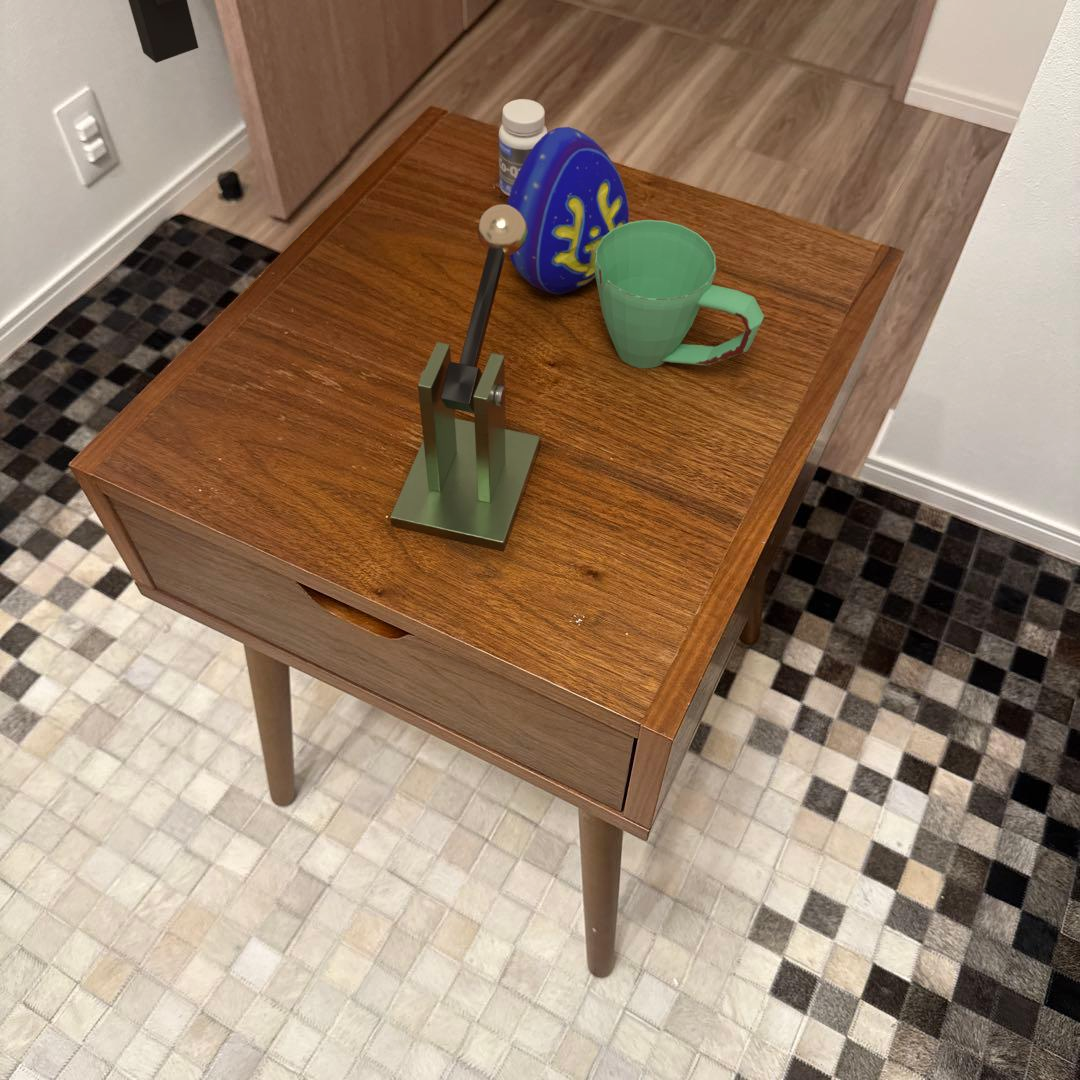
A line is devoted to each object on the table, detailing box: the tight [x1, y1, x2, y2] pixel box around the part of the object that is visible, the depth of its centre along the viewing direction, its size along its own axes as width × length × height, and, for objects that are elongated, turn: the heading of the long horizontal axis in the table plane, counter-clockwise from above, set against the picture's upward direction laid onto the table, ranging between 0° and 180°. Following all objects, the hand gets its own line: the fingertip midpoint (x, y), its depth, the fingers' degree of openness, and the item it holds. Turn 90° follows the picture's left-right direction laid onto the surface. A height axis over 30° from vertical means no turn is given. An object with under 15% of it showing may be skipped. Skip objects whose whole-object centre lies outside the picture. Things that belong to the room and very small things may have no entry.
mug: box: [595, 219, 765, 369], centre depth 90 cm, size 15×10×10 cm
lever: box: [440, 203, 527, 414], centre depth 77 cm, size 15×4×4 cm, turn 165°
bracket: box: [389, 341, 541, 552], centre depth 80 cm, size 11×9×13 cm
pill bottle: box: [498, 98, 549, 197], centre depth 104 cm, size 5×5×8 cm
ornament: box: [506, 126, 630, 295], centre depth 94 cm, size 11×9×15 cm
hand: (171, 49), depth 61 cm, fingers closed
